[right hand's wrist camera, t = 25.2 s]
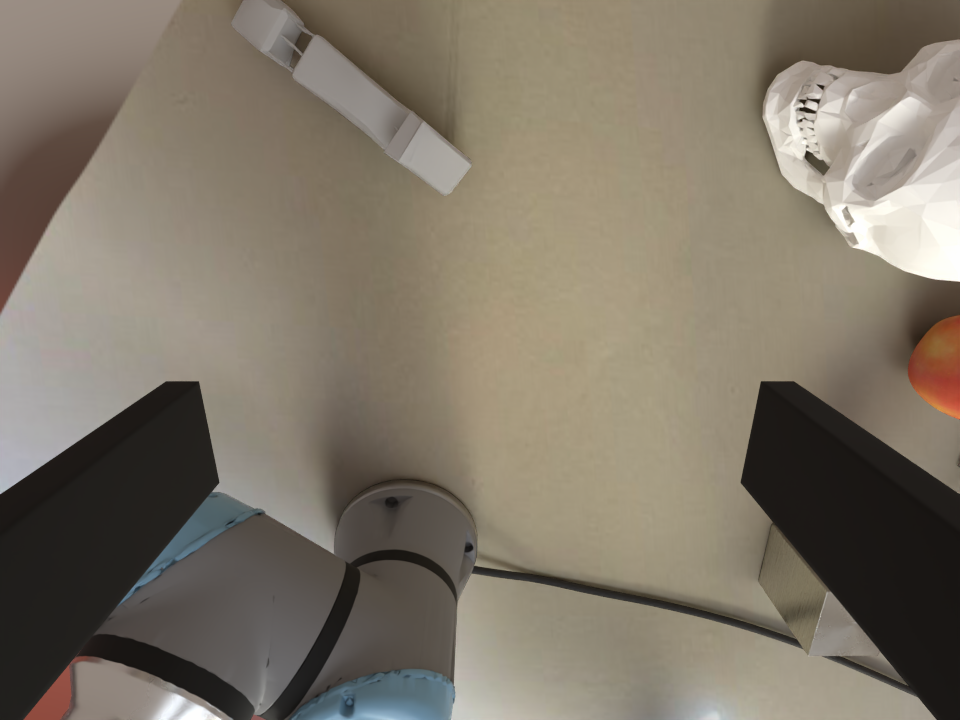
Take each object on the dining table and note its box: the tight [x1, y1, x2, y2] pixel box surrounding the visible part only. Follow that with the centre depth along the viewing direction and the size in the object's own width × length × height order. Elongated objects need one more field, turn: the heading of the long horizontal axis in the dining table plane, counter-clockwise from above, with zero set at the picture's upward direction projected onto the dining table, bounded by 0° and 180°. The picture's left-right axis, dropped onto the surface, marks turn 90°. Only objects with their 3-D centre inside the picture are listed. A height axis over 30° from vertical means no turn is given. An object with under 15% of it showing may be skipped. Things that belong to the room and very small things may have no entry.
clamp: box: [231, 0, 472, 196], centre depth 39 cm, size 20×4×7 cm, turn 52°
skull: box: [763, 39, 960, 281], centre depth 36 cm, size 13×22×16 cm, turn 64°
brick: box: [758, 524, 879, 656], centre depth 54 cm, size 8×7×10 cm
